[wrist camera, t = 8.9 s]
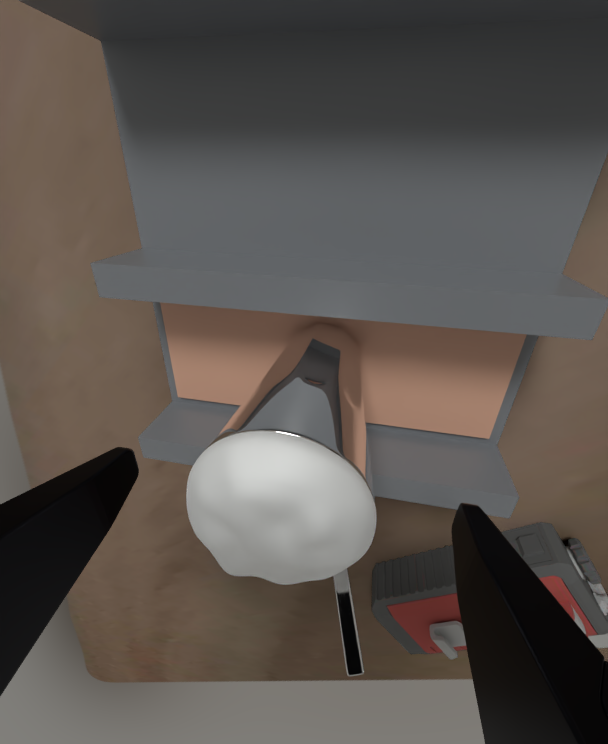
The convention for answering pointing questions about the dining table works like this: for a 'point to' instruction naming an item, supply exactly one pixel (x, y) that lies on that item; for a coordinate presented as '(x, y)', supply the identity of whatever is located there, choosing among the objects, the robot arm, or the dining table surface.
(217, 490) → the milkshake
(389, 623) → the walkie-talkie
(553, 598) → the robot arm
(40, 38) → the dining table surface
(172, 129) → the grey slotted tray
